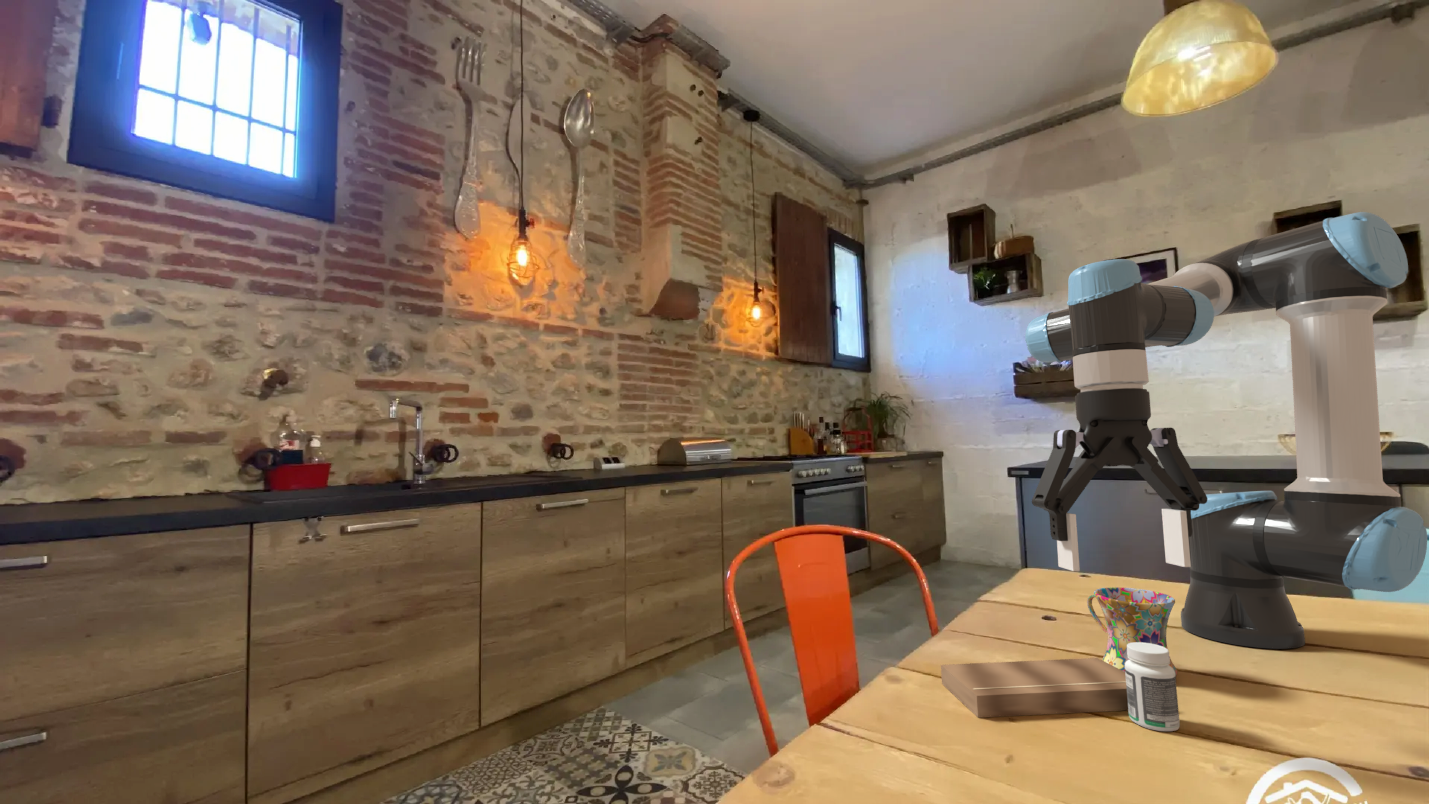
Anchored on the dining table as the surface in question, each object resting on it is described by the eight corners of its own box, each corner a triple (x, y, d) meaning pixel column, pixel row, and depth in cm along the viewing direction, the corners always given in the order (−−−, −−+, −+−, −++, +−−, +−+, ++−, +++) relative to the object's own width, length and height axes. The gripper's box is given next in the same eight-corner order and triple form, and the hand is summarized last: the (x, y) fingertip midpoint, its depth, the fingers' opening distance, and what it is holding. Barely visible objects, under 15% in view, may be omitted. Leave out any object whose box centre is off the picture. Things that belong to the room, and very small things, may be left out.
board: (1098, 676, 81) (1097, 657, 81) (1156, 708, 71) (1154, 686, 71) (941, 683, 80) (940, 664, 80) (977, 717, 70) (976, 695, 70)
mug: (1199, 680, 79) (1192, 599, 80) (1146, 690, 76) (1139, 606, 77) (1116, 651, 90) (1110, 581, 91) (1067, 659, 88) (1062, 586, 89)
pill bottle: (1190, 728, 66) (1183, 651, 67) (1161, 736, 65) (1155, 657, 65) (1146, 710, 71) (1140, 638, 71) (1119, 718, 69) (1113, 644, 70)
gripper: (1181, 390, 76) (1195, 557, 75) (995, 393, 75) (1005, 564, 73) (1236, 384, 69) (1253, 569, 67) (1030, 387, 67) (1042, 577, 66)
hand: (1123, 567), depth 70 cm, fingers open, 13 cm apart
